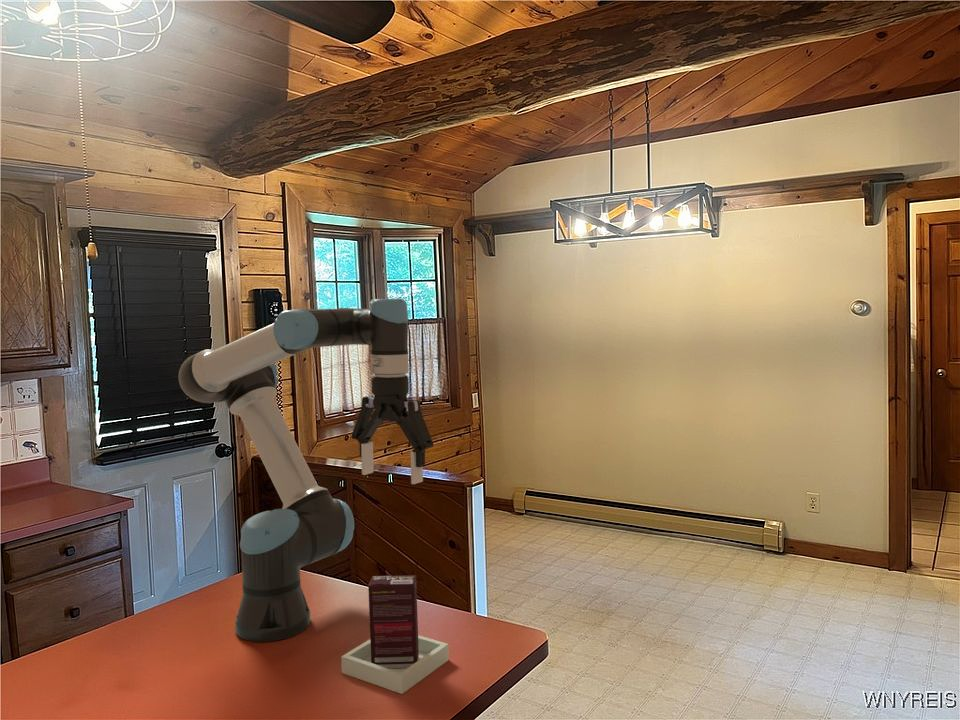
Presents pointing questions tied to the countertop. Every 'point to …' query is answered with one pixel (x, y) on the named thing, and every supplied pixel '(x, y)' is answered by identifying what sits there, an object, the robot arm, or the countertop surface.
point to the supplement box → (393, 621)
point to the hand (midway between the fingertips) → (391, 478)
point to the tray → (395, 678)
